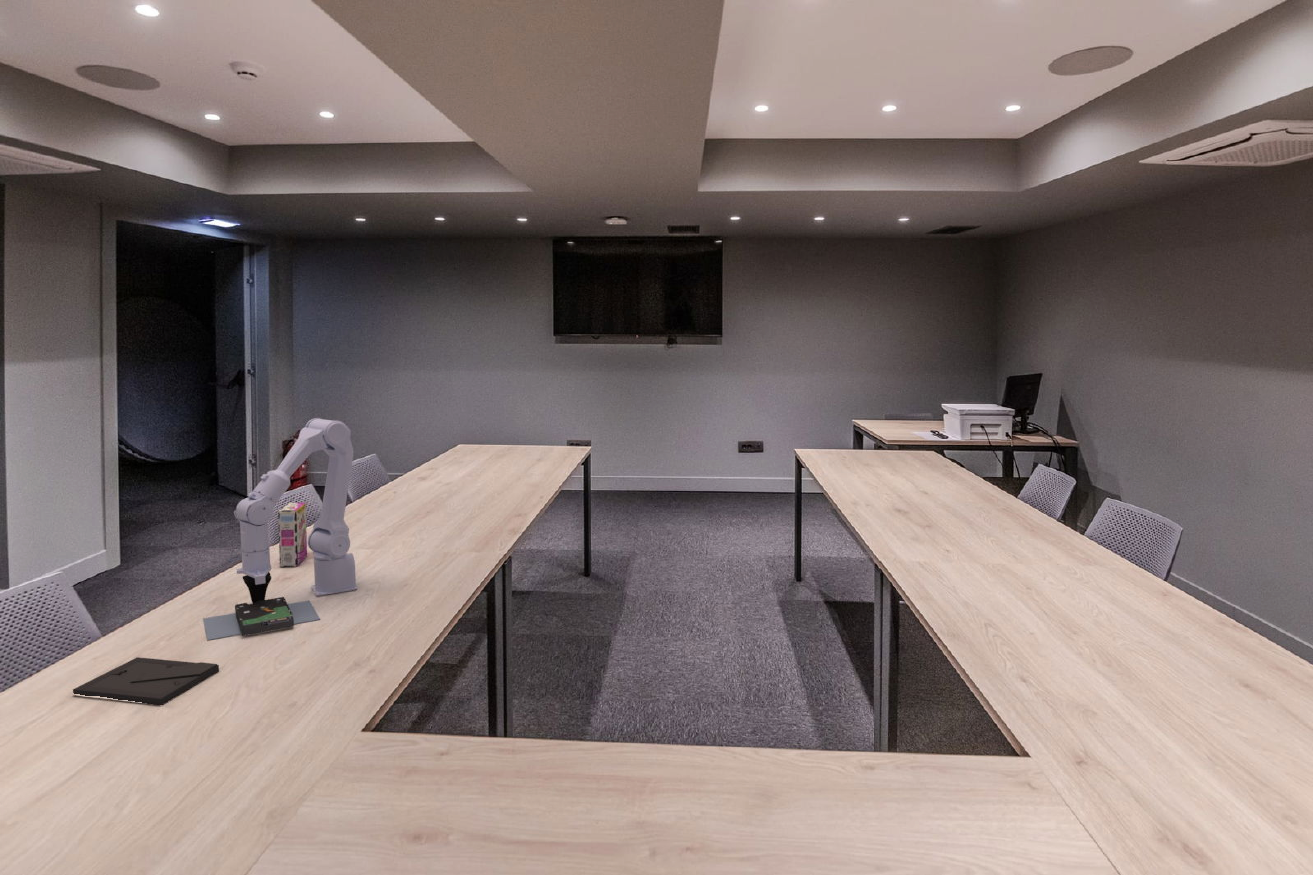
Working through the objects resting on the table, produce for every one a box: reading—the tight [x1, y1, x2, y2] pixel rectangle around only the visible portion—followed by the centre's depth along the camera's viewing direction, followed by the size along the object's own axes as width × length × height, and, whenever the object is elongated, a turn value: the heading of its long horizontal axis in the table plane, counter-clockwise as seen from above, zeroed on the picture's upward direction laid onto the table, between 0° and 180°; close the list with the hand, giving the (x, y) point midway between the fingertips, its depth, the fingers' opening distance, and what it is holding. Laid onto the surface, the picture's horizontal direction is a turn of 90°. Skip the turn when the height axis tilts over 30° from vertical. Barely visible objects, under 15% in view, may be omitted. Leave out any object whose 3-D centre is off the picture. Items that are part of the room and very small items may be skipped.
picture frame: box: [72, 656, 220, 706], centre depth 131 cm, size 13×2×18 cm
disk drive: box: [234, 596, 295, 637], centre depth 160 cm, size 10×3×15 cm
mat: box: [203, 600, 321, 642], centre depth 161 cm, size 22×14×1 cm, turn 125°
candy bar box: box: [277, 502, 308, 568], centre depth 203 cm, size 11×5×16 cm, turn 13°
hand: (258, 605), depth 166 cm, fingers closed
